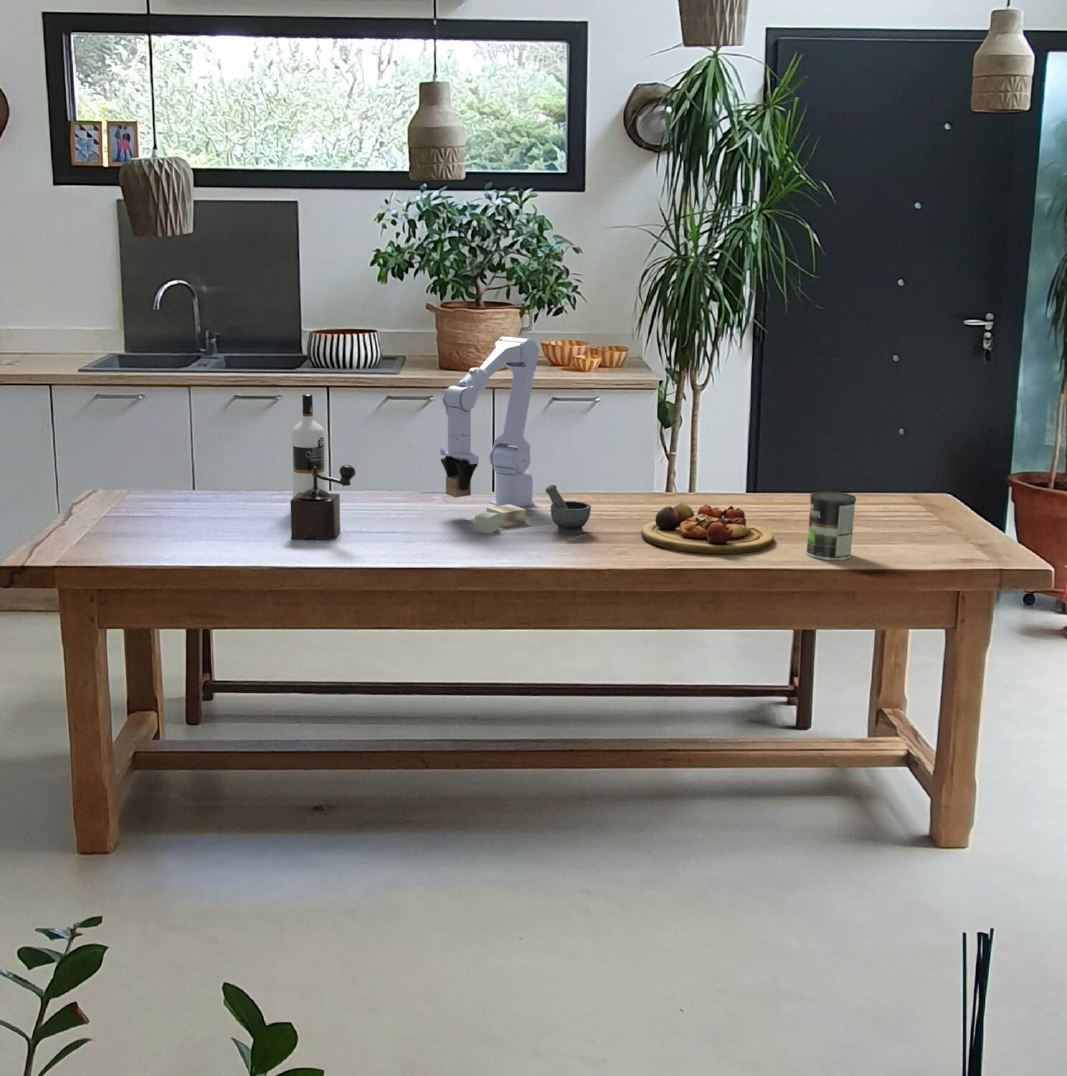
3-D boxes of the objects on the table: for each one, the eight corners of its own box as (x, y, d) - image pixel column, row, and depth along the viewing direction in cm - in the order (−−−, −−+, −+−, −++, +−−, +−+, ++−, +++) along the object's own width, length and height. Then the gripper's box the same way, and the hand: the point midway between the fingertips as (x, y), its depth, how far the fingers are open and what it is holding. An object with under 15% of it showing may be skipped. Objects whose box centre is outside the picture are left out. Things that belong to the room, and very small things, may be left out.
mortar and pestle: (587, 528, 334) (588, 480, 331) (593, 537, 325) (594, 488, 322) (542, 528, 333) (543, 480, 330) (546, 537, 324) (548, 488, 321)
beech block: (509, 517, 342) (509, 504, 341) (525, 523, 336) (525, 509, 335) (486, 520, 338) (486, 507, 337) (502, 526, 332) (502, 512, 331)
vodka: (307, 504, 353) (305, 390, 345) (335, 509, 348) (333, 393, 341) (283, 511, 345) (281, 394, 338) (312, 516, 340) (309, 397, 333)
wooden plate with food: (772, 561, 308) (774, 525, 306) (633, 550, 313) (635, 515, 312) (774, 531, 338) (777, 499, 337) (648, 522, 344) (650, 490, 342)
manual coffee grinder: (289, 540, 316) (287, 465, 311) (298, 529, 327) (296, 456, 322) (355, 542, 315) (354, 466, 311) (362, 531, 326) (361, 458, 322)
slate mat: (518, 513, 348) (518, 512, 348) (551, 524, 337) (551, 523, 337) (460, 522, 337) (460, 520, 337) (492, 533, 326) (492, 532, 326)
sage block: (485, 527, 331) (484, 511, 329) (499, 529, 328) (497, 513, 327) (476, 532, 327) (474, 516, 326) (489, 533, 325) (488, 518, 324)
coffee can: (813, 560, 308) (817, 500, 304) (800, 549, 318) (805, 491, 314) (857, 560, 309) (862, 500, 305) (843, 549, 319) (848, 491, 315)
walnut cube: (460, 492, 343) (460, 474, 342) (470, 495, 340) (470, 477, 339) (445, 494, 341) (445, 476, 339) (455, 497, 337) (455, 479, 336)
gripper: (430, 431, 340) (430, 484, 343) (461, 440, 328) (461, 494, 332) (453, 428, 344) (453, 481, 347) (485, 437, 333) (485, 491, 336)
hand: (458, 487), depth 340 cm, fingers closed on walnut cube, 4 cm apart
